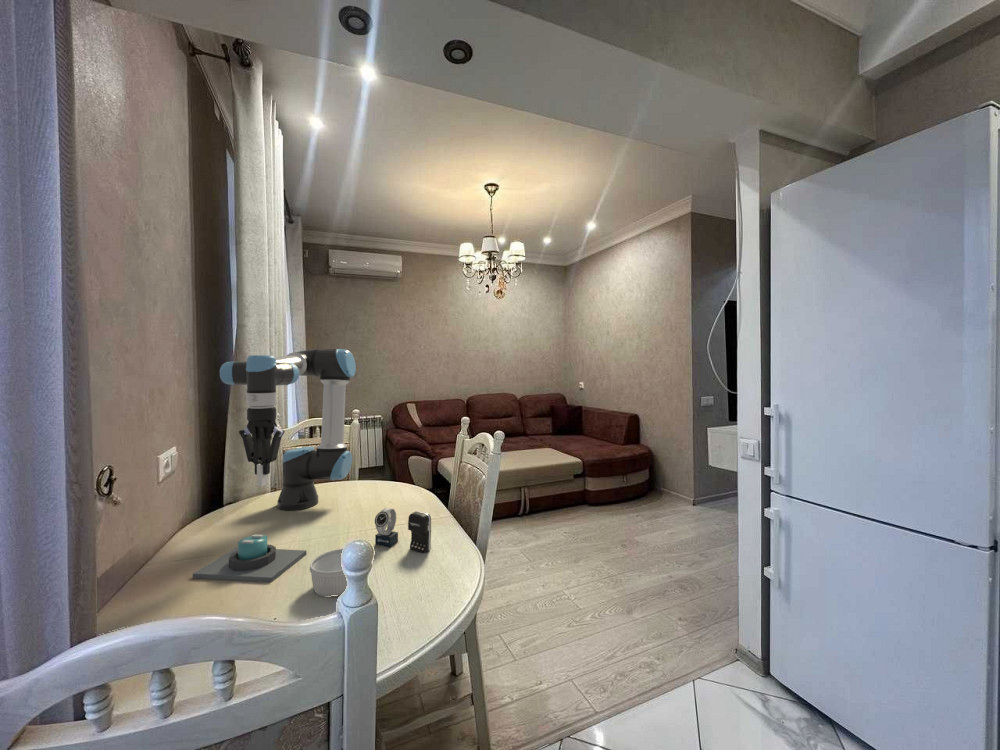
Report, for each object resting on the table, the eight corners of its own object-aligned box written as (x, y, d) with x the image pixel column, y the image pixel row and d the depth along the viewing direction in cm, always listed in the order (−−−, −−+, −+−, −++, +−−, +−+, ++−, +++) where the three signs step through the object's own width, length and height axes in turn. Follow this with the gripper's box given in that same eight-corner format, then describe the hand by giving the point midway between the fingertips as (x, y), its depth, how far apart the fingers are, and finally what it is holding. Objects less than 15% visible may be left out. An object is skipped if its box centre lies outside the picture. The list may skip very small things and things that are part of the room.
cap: (250, 554, 116) (250, 532, 116) (272, 556, 115) (272, 533, 115) (231, 566, 109) (231, 542, 109) (255, 567, 108) (255, 543, 108)
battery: (406, 549, 123) (406, 513, 123) (414, 545, 126) (414, 509, 126) (423, 555, 119) (423, 517, 119) (431, 550, 123) (431, 513, 123)
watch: (371, 547, 124) (371, 512, 124) (386, 537, 132) (386, 504, 132) (386, 549, 123) (387, 514, 123) (401, 539, 130) (401, 506, 130)
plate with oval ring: (237, 551, 121) (237, 539, 121) (306, 554, 119) (306, 542, 119) (192, 577, 105) (192, 564, 105) (271, 582, 103) (271, 568, 103)
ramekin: (308, 606, 93) (308, 576, 93) (310, 579, 105) (310, 552, 105) (367, 593, 98) (367, 565, 98) (363, 569, 110) (363, 544, 110)
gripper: (231, 407, 115) (232, 488, 116) (274, 408, 114) (275, 489, 115) (249, 405, 123) (250, 480, 123) (290, 405, 122) (290, 482, 122)
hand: (262, 485), depth 119 cm, fingers closed
